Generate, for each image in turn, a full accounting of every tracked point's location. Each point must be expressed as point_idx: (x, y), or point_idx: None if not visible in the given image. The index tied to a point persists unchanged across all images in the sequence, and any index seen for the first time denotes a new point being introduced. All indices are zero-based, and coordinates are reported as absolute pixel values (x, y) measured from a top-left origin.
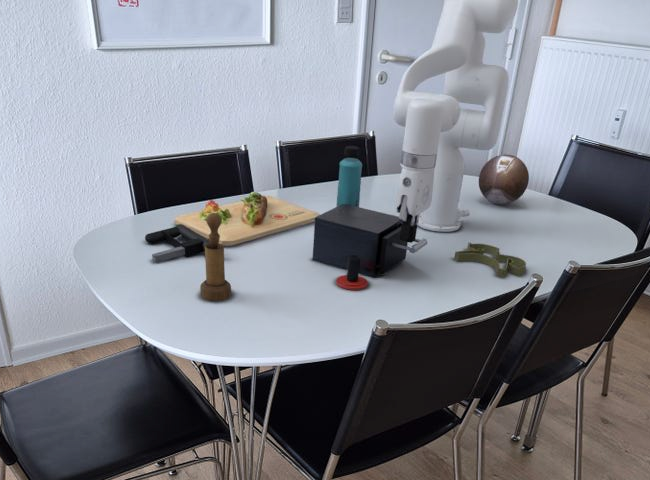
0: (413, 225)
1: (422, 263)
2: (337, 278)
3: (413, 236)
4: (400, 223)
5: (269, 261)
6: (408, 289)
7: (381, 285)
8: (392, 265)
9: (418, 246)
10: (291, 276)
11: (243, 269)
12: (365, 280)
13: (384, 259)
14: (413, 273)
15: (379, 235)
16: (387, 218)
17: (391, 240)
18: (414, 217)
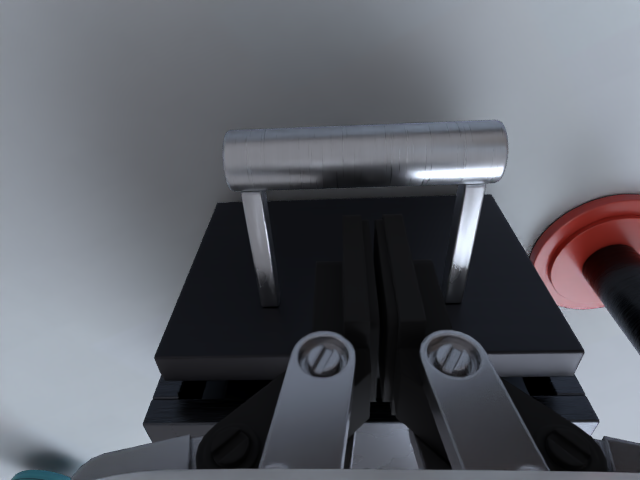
0: (435, 337)
1: (151, 121)
2: (599, 306)
3: (400, 243)
4: (209, 399)
5: None
6: (557, 7)
7: (564, 152)
8: (382, 206)
9: (428, 139)
10: (613, 396)
11: None
12: (574, 225)
13: (521, 247)
14: (314, 96)
15: (568, 401)
16: None
17: (484, 323)
18: (462, 432)
